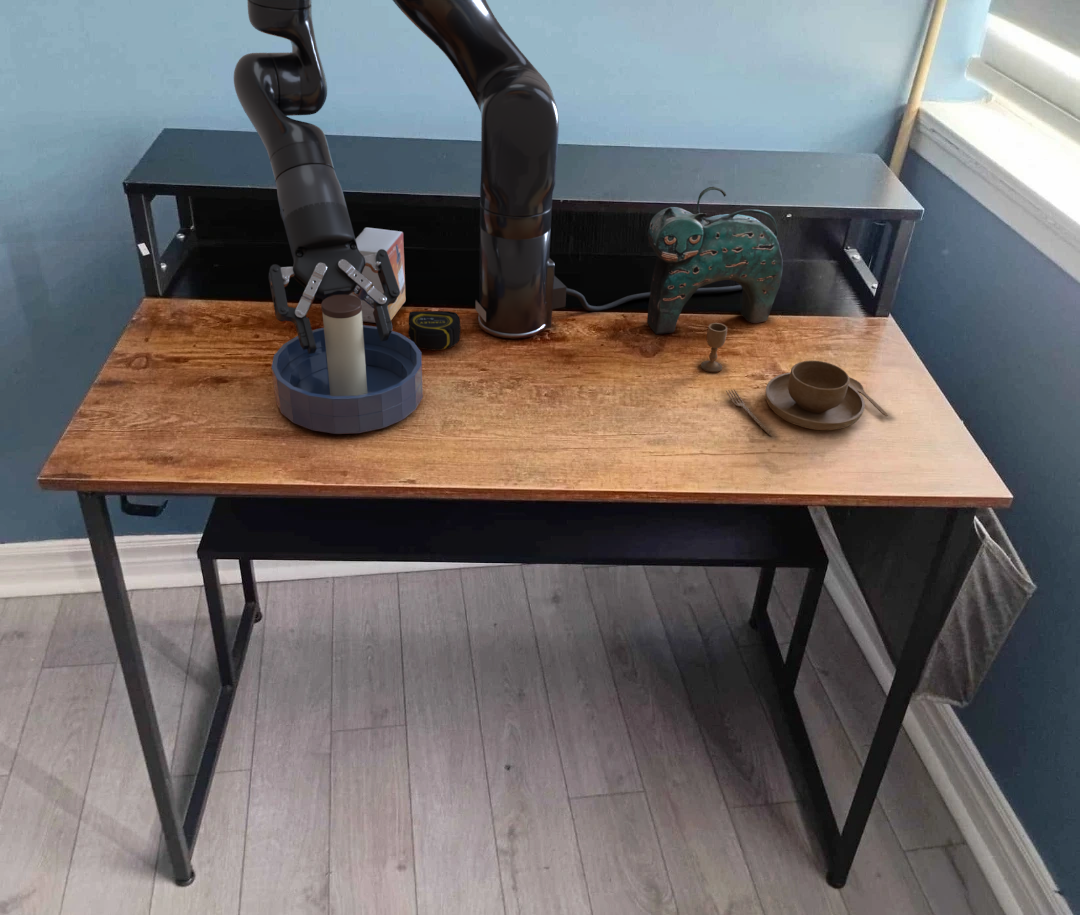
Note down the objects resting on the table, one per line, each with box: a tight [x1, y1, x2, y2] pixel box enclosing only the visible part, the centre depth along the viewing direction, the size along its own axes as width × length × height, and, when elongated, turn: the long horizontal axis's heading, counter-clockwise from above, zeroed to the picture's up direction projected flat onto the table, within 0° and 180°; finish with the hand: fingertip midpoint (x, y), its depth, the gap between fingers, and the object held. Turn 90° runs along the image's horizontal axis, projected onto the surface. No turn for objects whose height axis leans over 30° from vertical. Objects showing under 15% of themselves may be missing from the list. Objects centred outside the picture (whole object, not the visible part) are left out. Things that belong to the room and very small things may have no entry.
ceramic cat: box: [646, 186, 784, 335], centre depth 132 cm, size 20×6×20 cm, turn 106°
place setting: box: [700, 322, 889, 437], centre depth 122 cm, size 18×20×6 cm
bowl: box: [271, 324, 424, 435], centre depth 116 cm, size 17×17×6 cm
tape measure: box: [407, 310, 461, 351], centre depth 129 cm, size 7×7×4 cm
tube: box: [320, 294, 367, 396], centre depth 114 cm, size 4×4×12 cm
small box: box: [349, 227, 407, 324], centre depth 134 cm, size 8×6×10 cm
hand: (349, 345), depth 112 cm, fingers open, 8 cm apart
